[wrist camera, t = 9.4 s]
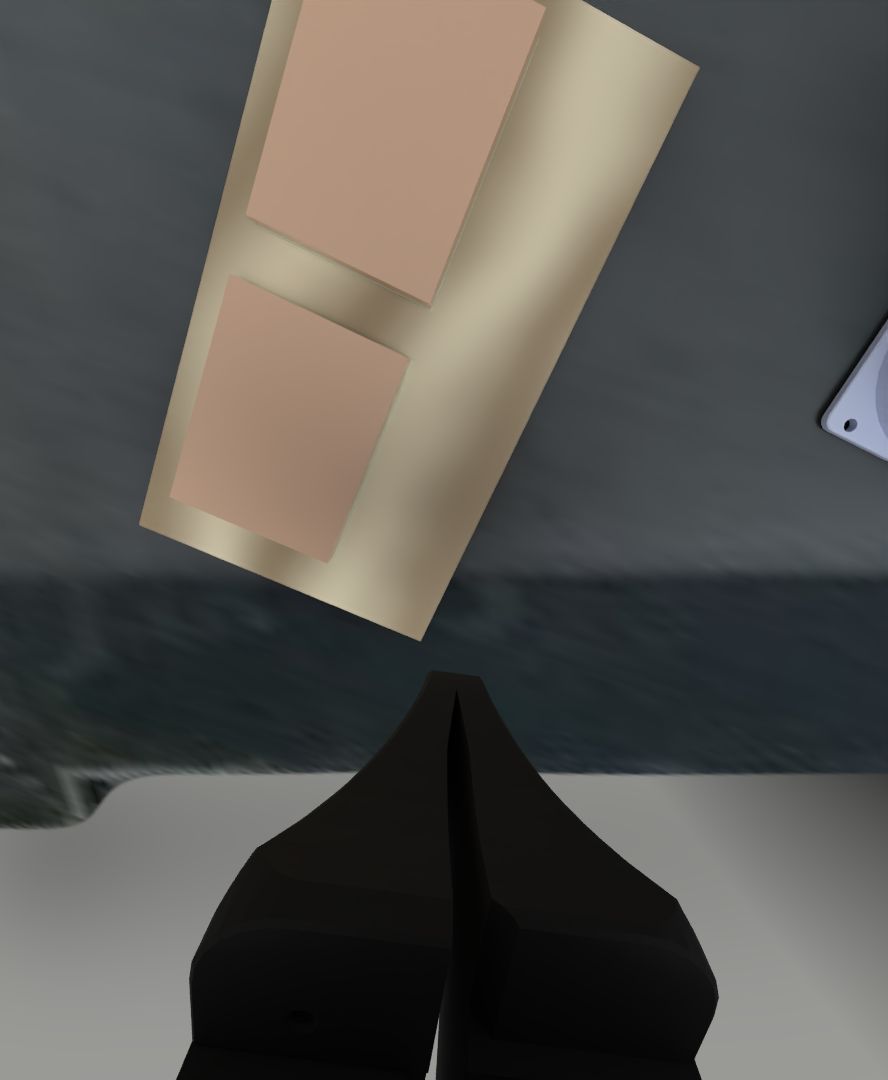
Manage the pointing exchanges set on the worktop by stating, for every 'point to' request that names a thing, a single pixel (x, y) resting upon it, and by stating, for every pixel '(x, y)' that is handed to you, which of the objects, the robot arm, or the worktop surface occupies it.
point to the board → (442, 310)
